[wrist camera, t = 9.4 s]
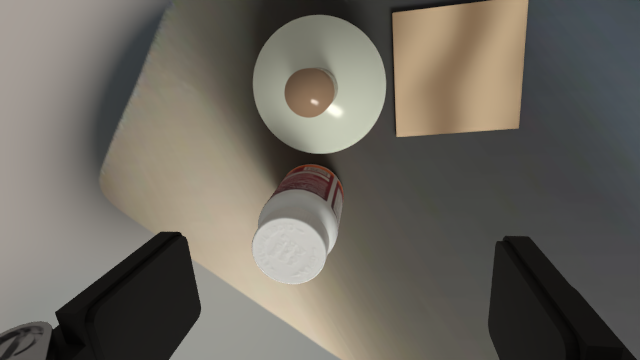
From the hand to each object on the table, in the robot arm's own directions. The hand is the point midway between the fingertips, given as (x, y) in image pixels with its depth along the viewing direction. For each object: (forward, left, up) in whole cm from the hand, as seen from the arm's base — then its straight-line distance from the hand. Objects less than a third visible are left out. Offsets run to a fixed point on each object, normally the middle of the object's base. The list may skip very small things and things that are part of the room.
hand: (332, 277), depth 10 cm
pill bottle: (+5, +5, -23) cm, 24 cm away
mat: (-8, -5, -22) cm, 24 cm away
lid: (+2, -5, -18) cm, 19 cm away
